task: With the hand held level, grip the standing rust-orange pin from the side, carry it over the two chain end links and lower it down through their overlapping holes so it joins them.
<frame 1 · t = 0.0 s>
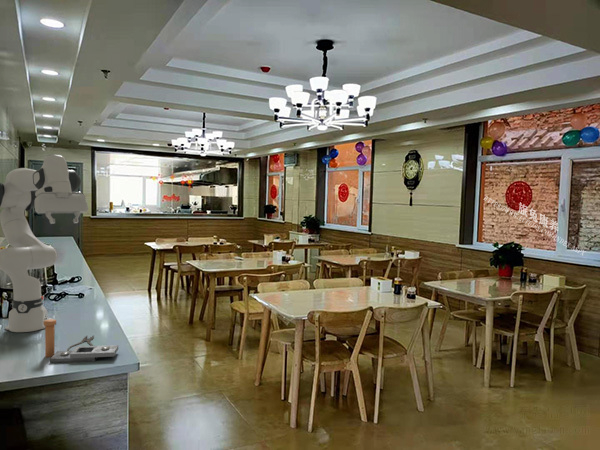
hand: (64, 223, 186), 52 cm above the countertop, tool tilted 20°, fingers open, 8 cm apart
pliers: (81, 345, 193), on the countertop
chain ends: (85, 357, 177), on the countertop
pin: (49, 355, 178), on the countertop
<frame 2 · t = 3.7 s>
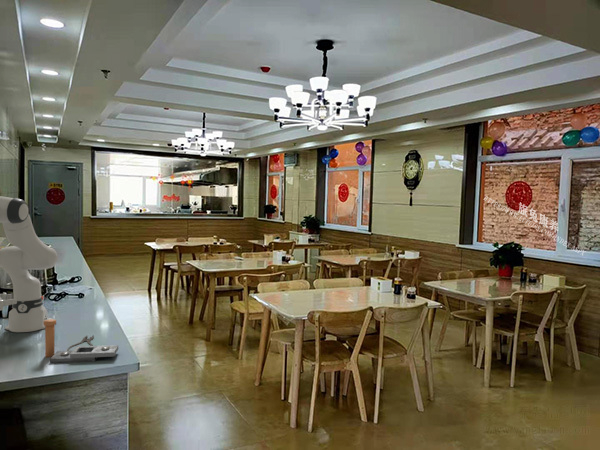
hand: (14, 298, 168), 24 cm above the countertop, tool horizontal, fingers open, 8 cm apart
nothing on the countertop moved.
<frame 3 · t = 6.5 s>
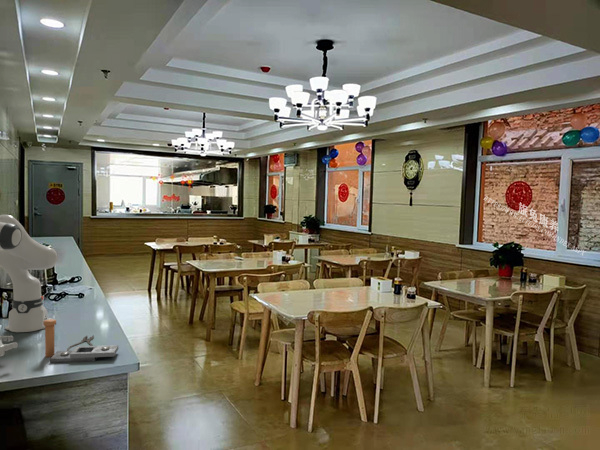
hand: (15, 341, 170), 8 cm above the countertop, tool horizontal, fingers open, 8 cm apart
nothing on the countertop moved.
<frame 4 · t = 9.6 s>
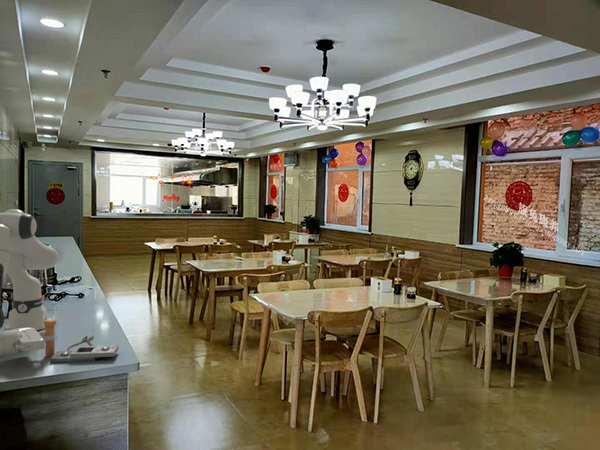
hand: (52, 335, 178), 8 cm above the countertop, tool horizontal, fingers closed on pin, 3 cm apart
pin: (49, 355, 178), on the countertop, touching gripper
everything else where it was.
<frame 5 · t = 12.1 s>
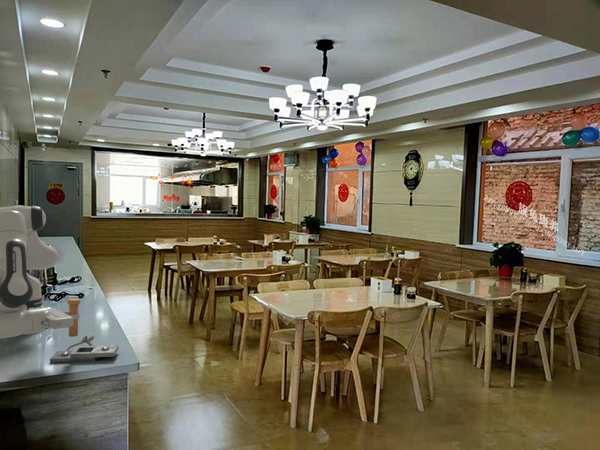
hand: (76, 314, 176), 17 cm above the countertop, tool horizontal, fingers closed on pin, 3 cm apart
pin: (73, 335, 176), point 9 cm above the countertop, touching gripper
everything else where it was.
when the fingers open (9 cm above the countertop, at t = 14.8 s): pin drops 1 cm, resting in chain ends.
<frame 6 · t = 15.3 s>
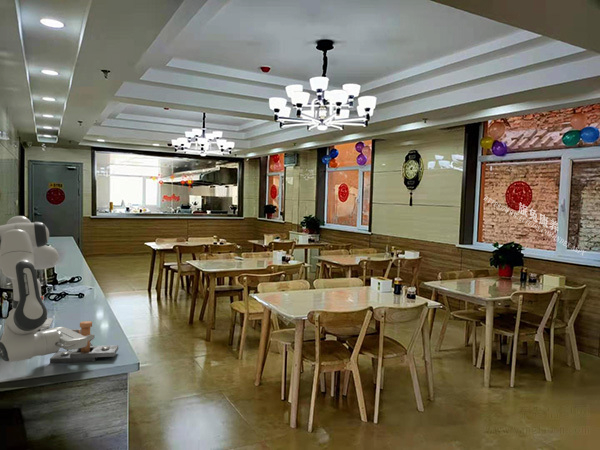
hand: (87, 333, 177), 9 cm above the countertop, tool horizontal, fingers open, 8 cm apart
pin: (85, 357, 177), resting in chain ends
everything else where it was.
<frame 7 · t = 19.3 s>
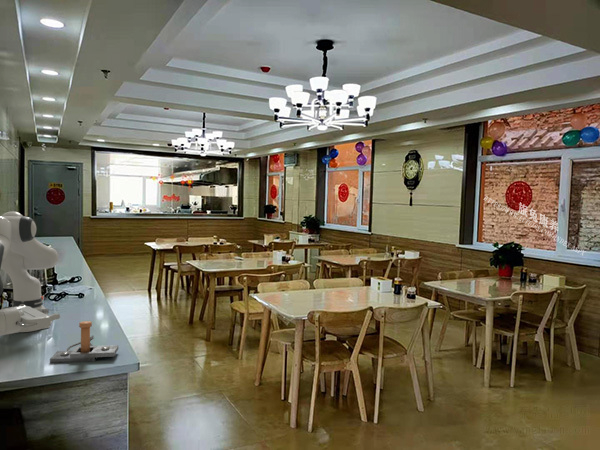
hand: (53, 313, 166), 20 cm above the countertop, tool horizontal, fingers open, 8 cm apart
nothing on the countertop moved.
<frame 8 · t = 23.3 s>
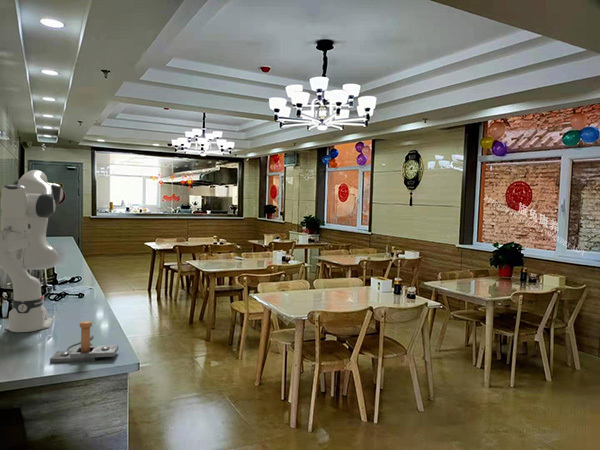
hand: (14, 261, 177), 37 cm above the countertop, tool pointing down, fingers open, 8 cm apart
nothing on the countertop moved.
at the end: pin 0.1 cm off-centre on the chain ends, point 0.0 cm above the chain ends's base; pin tilted 1°; the gripper is holding nothing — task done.
